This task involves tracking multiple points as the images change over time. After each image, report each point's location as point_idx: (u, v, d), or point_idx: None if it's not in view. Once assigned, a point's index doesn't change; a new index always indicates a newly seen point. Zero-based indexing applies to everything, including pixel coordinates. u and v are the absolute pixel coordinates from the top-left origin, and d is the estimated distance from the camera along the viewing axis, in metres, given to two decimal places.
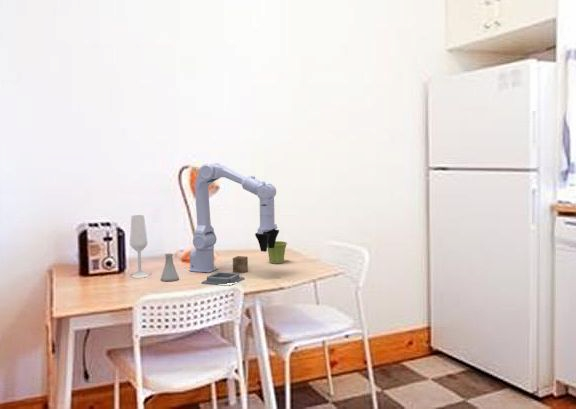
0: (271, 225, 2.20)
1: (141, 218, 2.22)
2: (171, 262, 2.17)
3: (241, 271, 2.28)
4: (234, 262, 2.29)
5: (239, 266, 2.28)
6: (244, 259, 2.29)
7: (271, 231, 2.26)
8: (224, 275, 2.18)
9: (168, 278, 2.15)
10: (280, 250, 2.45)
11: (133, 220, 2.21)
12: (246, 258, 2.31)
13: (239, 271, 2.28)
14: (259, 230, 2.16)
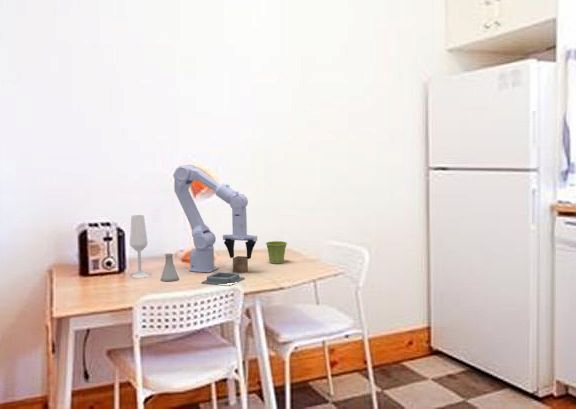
0: (233, 234, 2.27)
1: (141, 218, 2.22)
2: (171, 262, 2.17)
3: (241, 271, 2.28)
4: (234, 262, 2.29)
5: (239, 266, 2.28)
6: (244, 259, 2.29)
7: None
8: (224, 275, 2.18)
9: (168, 278, 2.15)
10: (280, 250, 2.45)
11: (133, 220, 2.21)
12: (246, 258, 2.31)
13: (239, 271, 2.28)
14: None
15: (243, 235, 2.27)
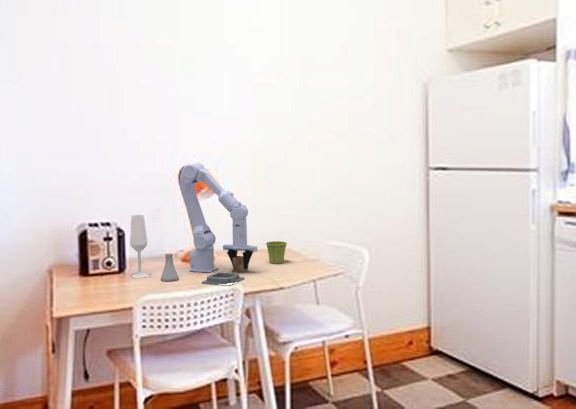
0: (234, 245, 2.28)
1: (141, 218, 2.22)
2: (171, 262, 2.17)
3: (241, 271, 2.28)
4: (234, 262, 2.29)
5: (239, 266, 2.28)
6: None
7: None
8: (224, 275, 2.18)
9: (168, 278, 2.15)
10: (280, 250, 2.45)
11: (133, 220, 2.21)
12: None
13: (239, 271, 2.28)
14: None
15: (243, 245, 2.27)
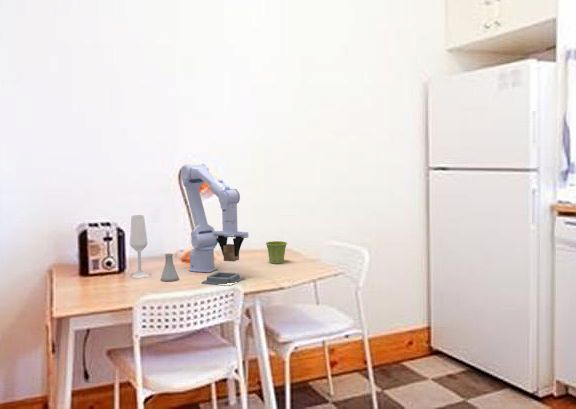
0: (223, 231, 2.18)
1: (141, 218, 2.22)
2: (171, 262, 2.17)
3: (232, 259, 2.18)
4: (225, 250, 2.19)
5: (229, 254, 2.19)
6: None
7: None
8: (224, 275, 2.18)
9: (168, 278, 2.15)
10: (280, 250, 2.45)
11: (133, 220, 2.21)
12: None
13: (230, 259, 2.19)
14: None
15: (233, 231, 2.17)
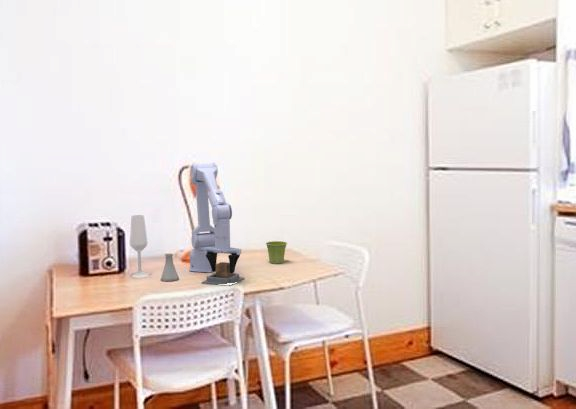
0: (216, 247, 2.12)
1: (141, 218, 2.22)
2: (171, 262, 2.17)
3: None
4: (217, 269, 2.13)
5: (222, 273, 2.12)
6: (228, 266, 2.13)
7: None
8: None
9: (168, 278, 2.15)
10: (280, 250, 2.45)
11: (133, 220, 2.21)
12: None
13: None
14: None
15: (226, 248, 2.11)
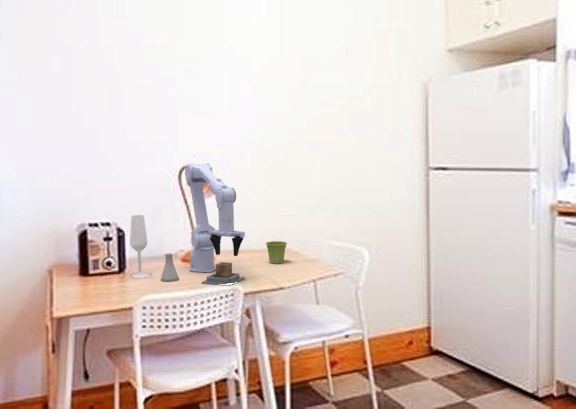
0: (219, 230, 2.14)
1: (141, 218, 2.22)
2: (171, 262, 2.17)
3: None
4: (217, 269, 2.13)
5: (222, 273, 2.12)
6: (228, 266, 2.13)
7: None
8: None
9: (168, 278, 2.15)
10: (280, 250, 2.45)
11: (133, 220, 2.21)
12: (230, 264, 2.15)
13: None
14: None
15: (230, 231, 2.14)
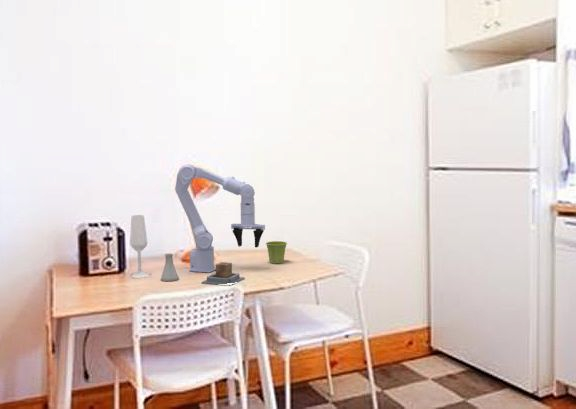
0: (242, 223, 2.32)
1: (141, 218, 2.22)
2: (171, 262, 2.17)
3: None
4: (217, 269, 2.13)
5: (222, 273, 2.12)
6: (228, 266, 2.13)
7: None
8: None
9: (168, 278, 2.15)
10: (280, 250, 2.45)
11: (133, 220, 2.21)
12: (230, 264, 2.15)
13: None
14: None
15: (251, 224, 2.32)
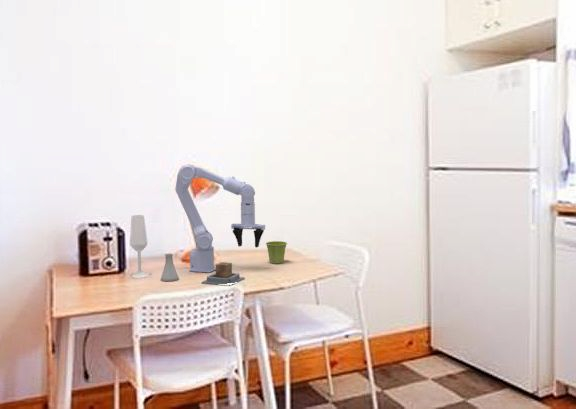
0: (242, 223, 2.32)
1: (141, 218, 2.22)
2: (171, 262, 2.17)
3: None
4: (217, 269, 2.13)
5: (222, 273, 2.12)
6: (228, 266, 2.13)
7: None
8: None
9: (168, 278, 2.15)
10: (280, 250, 2.45)
11: (133, 220, 2.21)
12: (230, 264, 2.15)
13: None
14: None
15: (251, 224, 2.32)
